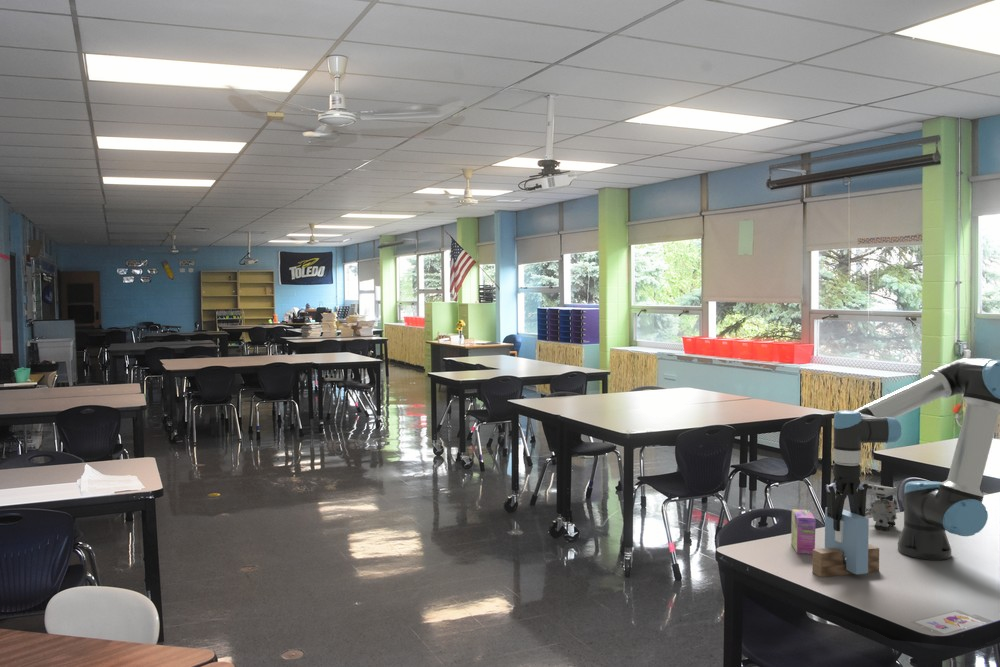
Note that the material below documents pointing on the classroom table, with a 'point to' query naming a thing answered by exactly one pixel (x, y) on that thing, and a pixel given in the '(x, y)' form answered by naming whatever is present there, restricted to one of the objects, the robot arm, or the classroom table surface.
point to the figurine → (882, 506)
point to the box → (803, 531)
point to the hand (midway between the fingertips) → (846, 540)
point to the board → (850, 540)
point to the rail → (839, 561)
